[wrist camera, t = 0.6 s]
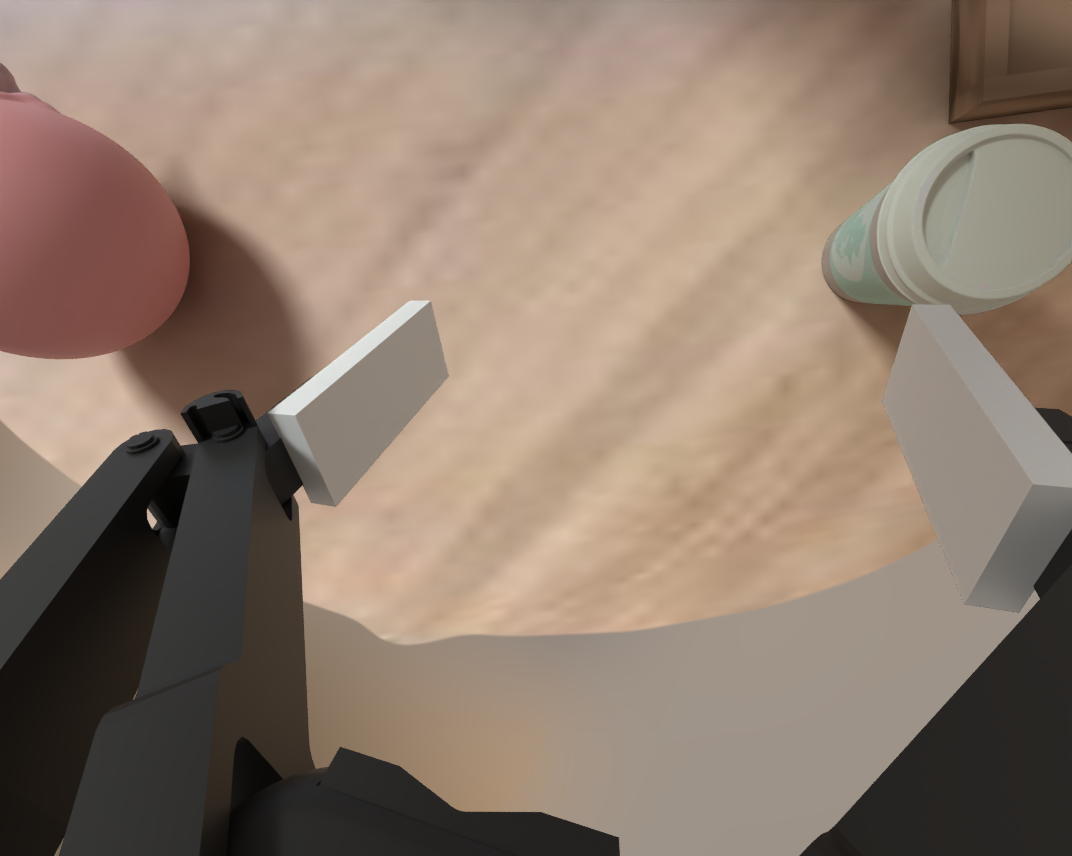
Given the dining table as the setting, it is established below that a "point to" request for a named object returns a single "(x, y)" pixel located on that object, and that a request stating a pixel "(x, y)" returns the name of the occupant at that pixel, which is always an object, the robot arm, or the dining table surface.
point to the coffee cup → (962, 224)
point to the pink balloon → (80, 237)
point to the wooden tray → (1009, 57)
